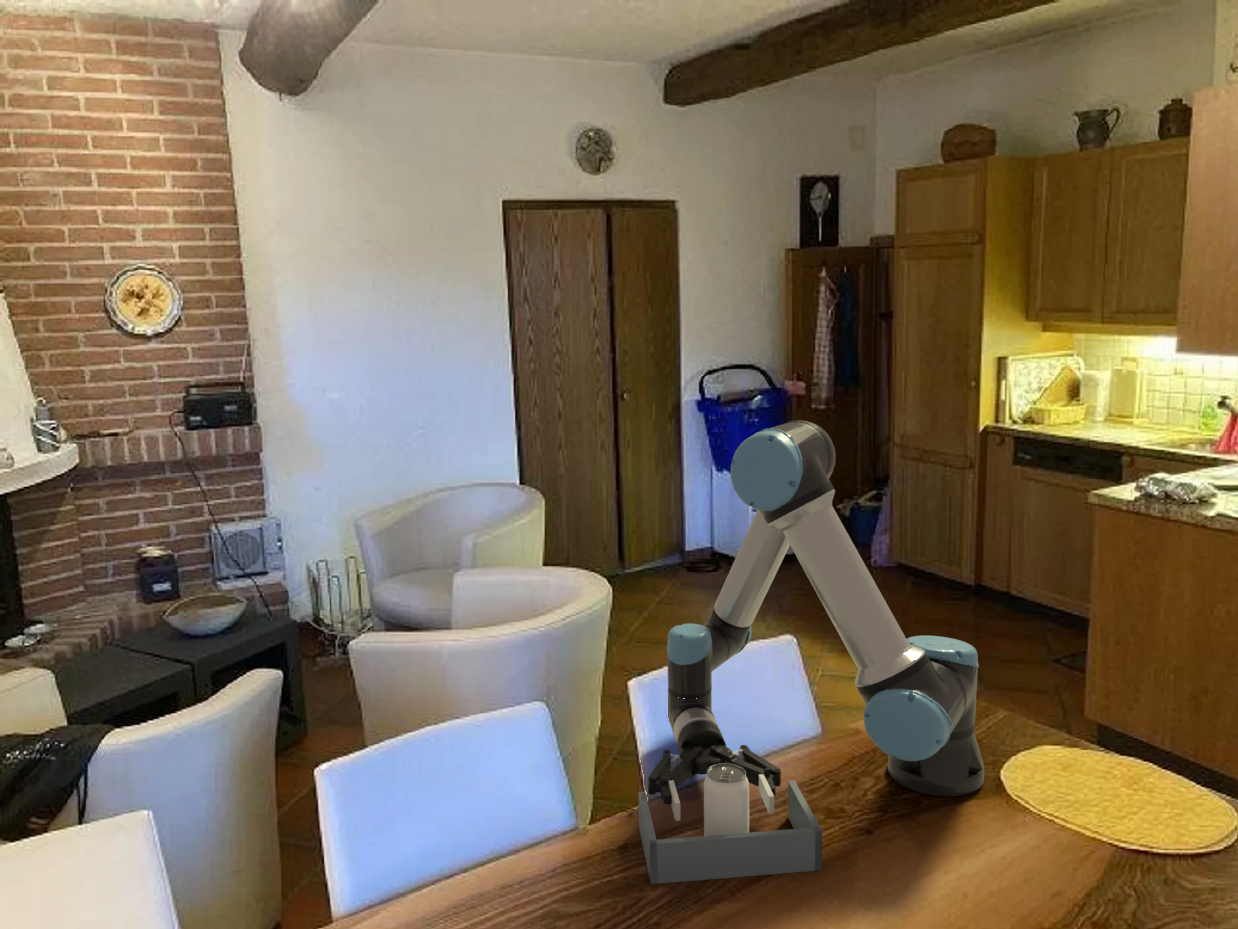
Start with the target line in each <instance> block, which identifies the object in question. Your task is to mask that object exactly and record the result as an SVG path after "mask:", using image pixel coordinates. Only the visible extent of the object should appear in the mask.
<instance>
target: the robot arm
mask: <svg viewBox="0 0 1238 929" xmlns="http://www.w3.org/2000/svg"><path fill="white" fill-rule="evenodd" d="M731 460H732V461H731V464H730V479H731V483H732V488H733V489H734V492H735V493H736V495H737V497H738V498H739V499H740V501H742V502H743V503H744V504H745V505H747V506H748V507H751V508H752V509H755V510H756V512H755V515H754V517H753V519H752V522H751V524H750V526H749V528H748V530H747V532H746V534H745V536H744V539H743V541H742V544H741V546H740V547H739V550H738V552H737V555H736V557H735V559H734V561H733V563H732V565H731V568H730V570H729V572H728V574H727V576H726V579H725V581H724V583H723V585H722V588H721V590H720V591H719V594H718V597H717V599H716V600H715V603H714V606H713V608H712V610H711V613H710V614H709V617H708V618H707V620H706V622H705V623H704V624H703V625H702V624H698V623H682V624H681V625H679V624H677V625H675V626H673V627H672V628H671V629H670V630H669V631H668V634H667V646H666V659H667V686H668V688H667V695H668V718H669V720H668V722H669V725H670V727H671V730H672V733H673V736H674V739H675V743H676V745H677V749H678V753H679V754H674V753H671V750H669V749H664V750H662V757H661V759H659V762H658V763H657V764H656V766H655V767H654V769H653V770H652V771H651V773H650V774H649V775H648V777H647V793H648V795H649V796H650V795H651V796H655V795H657V793H658V794H660V800H661V801H662V803H663V804H664V805H670V807H671V810H672V814H673V818H674V821H676V822H679V821H681V801H680V799H679V798H680V797H679V795H678V791H677V789H678V788H679V787H680V786H682V785H683V784H684V783H685V782H686V781H688V780H689V781H690V780H693V779H694V778H695V777H696V776H697V775H707V770H708V768H709V767H711V766H713V765H715V764H720V763H731V764H736V765H738V766H741V767H742V768H743V769H744V770H745V771H746V777H747V779H748V782H749V784H751V785H753V786H756V787H758V792H759V795H760V797H761V799H762V801H763V804H764V806H765V808H766V810H767V813H768V815H775V798H776V787H780V786H781V785H782V784H781V783H782V780H781V779H782V778H781V777H782V773H781V772H782V769H781V768H779V767H778V766H777V765H775V764H773V763H772V762H769V761H768V760H767V759H764V758H763V757H761V756H760V755H758V754H756V753H755V752H753V751H752V750H751V749H750V748H749V746H748V745H747V744H742V745H740V746H739V750H731V748H729V747H728V746H727V744H726V741H725V739H724V737H723V734H722V732H721V728H720V727H719V725H718V723H717V720H716V717H715V715H714V713H713V710H712V708H713V707H712V703H713V702H712V689H713V688H712V684H713V683H712V681H713V680H712V676H713V675H712V673H713V671H715V670H716V669H717V668H719V667H720V666H722V665H723V664H724V663H725V662H727V661H728V660H730V659H731V658H732V657H734V656H736V655H737V654H739V653H741V652H742V651H743V650H744V649H745V647H746V646H747V645H748V644H749V643H750V641H751V640H752V635H753V626H752V624H753V622H754V621H755V618H756V617H757V614H758V612H759V610H760V608H761V606H762V604H763V603H764V599H765V597H766V595H767V593H768V592H769V589H770V587H771V585H772V583H773V581H774V579H775V577H776V575H777V573H778V571H779V569H780V567H781V564H782V563H783V560H784V558H785V556H786V554H787V552H788V549H789V548H790V547H791V550H793V554H795V556H796V559H797V560H798V562H799V564H800V566H801V568H802V569H803V571H804V573H805V575H806V577H807V578H808V580H809V582H810V584H811V585H812V587H813V589H814V591H815V593H816V595H817V597H818V598H819V600H820V602H821V604H822V606H823V608H824V609H825V612H826V613H827V615H828V617H829V619H830V621H831V622H832V624H833V625H834V626H833V627H834V628H835V629H836V631H837V634H838V635H839V637H840V639H841V641H842V642H843V644H844V646H845V648H846V650H847V652H848V654H849V656H850V658H852V660H853V663H854V664H855V666H856V668H857V674H856V677H855V681H854V685H855V687H856V689H857V691H858V692H859V695H860V696H861V698H862V700H863V701H864V703H865V707H864V708H865V709H864V714H863V723H864V727H865V731H866V734H867V736H868V738H870V741H872V743H873V744H874V745H875V746H876V747H877V748H878V749H879V750H881V752H883V753H884V754H886V755H888V756H887V771H888V773H889V775H890V777H891V778H892V779H893V780H894V781H895V782H897V783H898V784H899V785H901V786H902V787H905V788H907V789H908V790H912V791H914V792H917V793H920V794H921V793H922V794H923V795H931V796H936V797H958V796H959V797H961V796H964V795H969V794H972V793H974V792H976V791H978V790H979V789H981V787H982V786H983V785H984V782H985V781H984V780H985V764H984V762H983V758H982V755H981V751H980V748H979V744H978V742H977V739H976V735H975V734H976V733H975V730H976V726H975V725H976V724H975V723H976V710H977V706H976V705H977V688H978V670H979V669H978V668H980V664H979V660H978V659H979V658H978V657H979V655H978V651H977V650H976V648H975V647H974V646H973V645H971V644H970V643H967V642H966V641H964V640H959V639H957V638H951V637H946V636H939V635H938V636H937V635H915V636H910V637H908V638H906V635H905V634H904V632H903V631H902V629H901V627H900V625H899V623H898V621H897V620H896V618H895V616H894V614H893V612H892V611H891V609H890V606H889V605H888V604H887V602H886V599H885V598H884V597H883V595H882V592H881V590H880V589H879V586H877V584H876V582H875V580H874V579H873V576H872V575H871V573H870V571H869V569H868V567H867V566H866V564H865V562H864V560H863V559H862V557H861V555H860V554H859V551H858V549H857V548H856V546H855V544H854V543H853V540H852V538H851V537H850V535H849V533H848V532H847V530H846V528H845V526H844V524H843V523H842V521H841V519H840V517H839V515H838V513H837V512H836V510H835V508H834V506H833V499H834V496H835V494H836V490H835V488H834V486H833V484H832V482H831V480H830V478H831V476H832V474H833V472H834V468H835V466H836V449H835V446H834V443H833V441H832V438H831V437H830V436H829V433H827V431H825V429H823V428H822V427H821V426H819V425H817V424H815V423H814V422H810V421H807V420H802V419H801V420H800V419H799V420H791V421H787V422H784V423H782V424H780V425H776V426H773V427H769V428H764V429H761V430H760V431H758V432H755V433H754V434H753V435H751V436H749V437H747V438H746V439H744V440H743V441H742V442H741V443H740V444H739V445H738V447H737V449H736V450H735V452H734V454H733V457H732V459H731ZM678 697H679V698H678ZM683 698H685V699H683ZM696 698H697V699H696ZM668 718H667V719H668ZM677 764H678V765H677ZM676 765H677V766H676Z"/></svg>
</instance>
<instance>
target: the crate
mask: <svg viewBox="0 0 1238 929" xmlns="http://www.w3.org/2000/svg"><path fill="white" fill-rule="evenodd" d="M787 788H788V789H787V793H788V794H787V795H788V797H787V799H788V800H787V801H788V802H787V818H788V820H789V822H790V824H791V827H792V828H793V829H792V828H791V829H790V828H789V829H778V830H766V831H763V830H762V831H753V832H752V831H751V832H750V831H749V833H737V834H724V835H711V836H704V835H701V836H687V837H686V836H685V837H676V838H675V837H674V838H673V837H672V838H662V839H657V837H656V836H657V835H656V832H655V829H654V828H655V827H654V823H653V819H652V815H651V812H650V811H651V810H650V807H649V803H648V799H647V795H646V791H638V793H637V795H638V796H637V797H638V798H637V799H638V801H637V803H638V830H639V835H640V838H641V845H642V848H643V852H644V858H645V862H646V866H647V871H648V877H649V882H650V885H657V884H658V885H659V884H668V883H671V884H672V883H680V882H693V881H694V882H695V881H705V880H707V881H708V880H709V881H710V880H718V879H730V878H731V879H732V878H742V877H743V878H744V877H755V876H767V875H781V874H792V873H804V872H816V871H823V867H822V866H823V830H822V827H821V826H820V824H819V822H818V820H817V819H816V817H815V815H814V813H813V811H812V810H811V807H810V806H809V804H808V802H807V800H806V799H805V797H804V795H803V792H802V791H801V790H800V788H799V785H798V784H797V782H796V780H788V784H787Z"/></svg>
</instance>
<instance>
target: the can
mask: <svg viewBox="0 0 1238 929" xmlns="http://www.w3.org/2000/svg"><path fill="white" fill-rule="evenodd" d="M703 832H704V833H703V834H704V835H703V836H711V835H724V834H737V833H750V783H749V782H748V779H747V777H746V771H745V770H744V769H743V768H742V767H741V766H738V765H736V764H731V763H720V764H715V765H713V766H711V767H709V768H708V770H707V774H706V775H705V778H704V782H703Z"/></svg>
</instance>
